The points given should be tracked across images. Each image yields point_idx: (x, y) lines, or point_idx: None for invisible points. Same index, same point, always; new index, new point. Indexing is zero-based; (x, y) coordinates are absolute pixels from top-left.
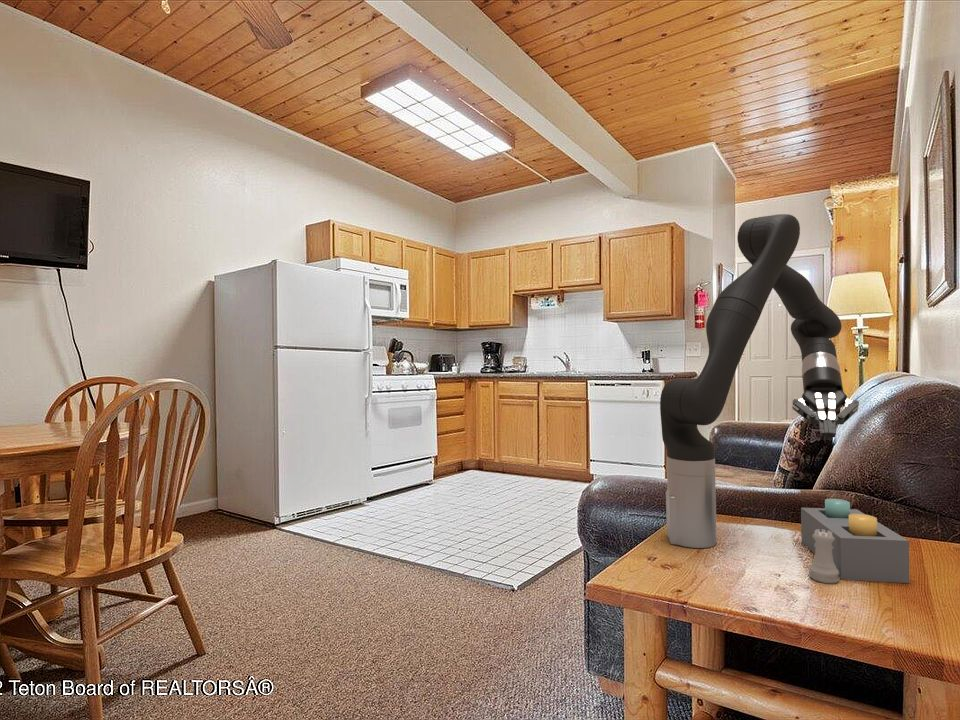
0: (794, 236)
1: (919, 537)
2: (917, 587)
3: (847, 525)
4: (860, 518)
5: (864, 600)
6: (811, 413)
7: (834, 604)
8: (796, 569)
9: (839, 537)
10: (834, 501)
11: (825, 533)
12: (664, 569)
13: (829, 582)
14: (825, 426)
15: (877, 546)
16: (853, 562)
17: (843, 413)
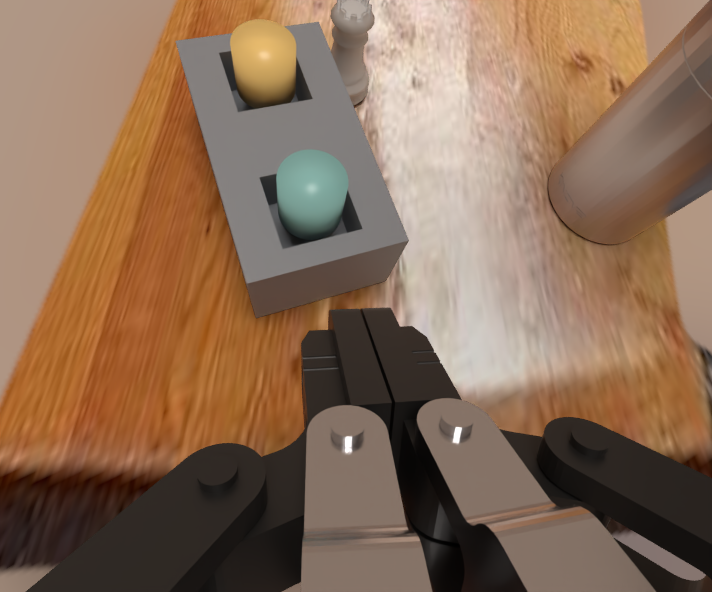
0: None
1: (55, 481)
2: (187, 102)
3: (295, 111)
4: (270, 31)
5: None
6: (611, 461)
7: (331, 5)
8: (388, 116)
9: (320, 28)
10: (321, 175)
11: (349, 8)
12: (580, 50)
13: None
14: (396, 344)
15: None
16: None
17: (175, 520)
